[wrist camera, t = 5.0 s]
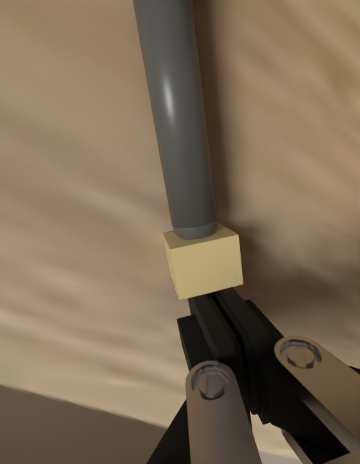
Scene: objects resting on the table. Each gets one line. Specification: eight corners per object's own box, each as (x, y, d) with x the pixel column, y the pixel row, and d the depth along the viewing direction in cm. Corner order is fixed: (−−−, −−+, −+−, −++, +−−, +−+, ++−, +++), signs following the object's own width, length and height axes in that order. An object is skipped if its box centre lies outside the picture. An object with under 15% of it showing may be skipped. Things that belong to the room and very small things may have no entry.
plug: (193, -278, 7) (297, -1067, 2) (242, 258, 11) (309, 312, 7) (24, -293, 6) (-233, -1384, 2) (148, 280, 11) (158, 353, 6)
